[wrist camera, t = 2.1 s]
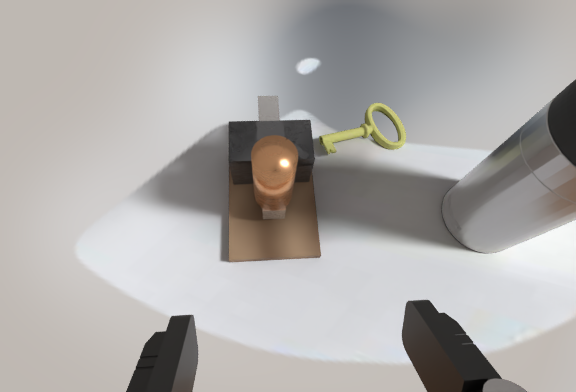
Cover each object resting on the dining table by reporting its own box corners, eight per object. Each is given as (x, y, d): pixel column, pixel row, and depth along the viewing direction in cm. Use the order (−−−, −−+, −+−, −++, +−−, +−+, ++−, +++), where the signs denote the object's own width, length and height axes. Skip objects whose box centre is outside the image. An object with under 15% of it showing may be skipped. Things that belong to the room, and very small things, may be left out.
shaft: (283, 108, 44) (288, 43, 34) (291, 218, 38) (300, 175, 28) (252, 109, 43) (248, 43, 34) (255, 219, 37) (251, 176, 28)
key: (313, 146, 45) (315, 137, 43) (379, 103, 48) (383, 92, 47) (349, 185, 43) (354, 178, 41) (415, 137, 46) (422, 128, 44)
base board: (308, 150, 44) (309, 146, 43) (319, 257, 38) (320, 255, 37) (230, 152, 43) (229, 148, 42) (229, 262, 37) (228, 260, 37)
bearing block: (305, 146, 43) (310, 119, 38) (308, 182, 41) (314, 158, 36) (233, 148, 42) (228, 121, 37) (233, 184, 40) (228, 161, 35)
